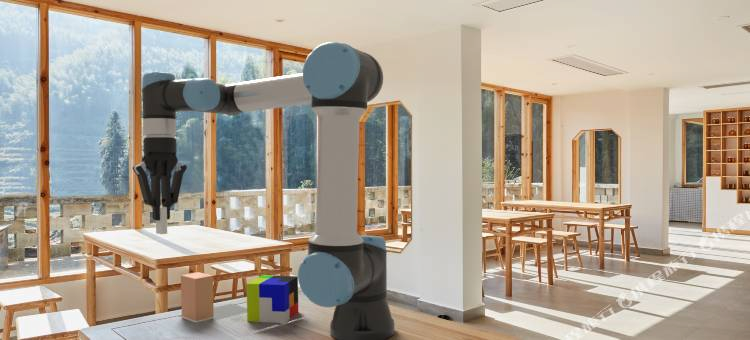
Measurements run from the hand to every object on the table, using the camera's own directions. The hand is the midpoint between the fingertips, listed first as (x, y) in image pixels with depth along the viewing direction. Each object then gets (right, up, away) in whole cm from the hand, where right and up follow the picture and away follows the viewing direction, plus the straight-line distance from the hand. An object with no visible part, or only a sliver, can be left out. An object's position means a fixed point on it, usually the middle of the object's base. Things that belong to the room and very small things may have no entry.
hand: (161, 233), depth 136 cm
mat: (+10, -23, +11) cm, 28 cm away
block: (+6, -23, +7) cm, 25 cm away
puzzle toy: (+26, -23, +8) cm, 36 cm away
